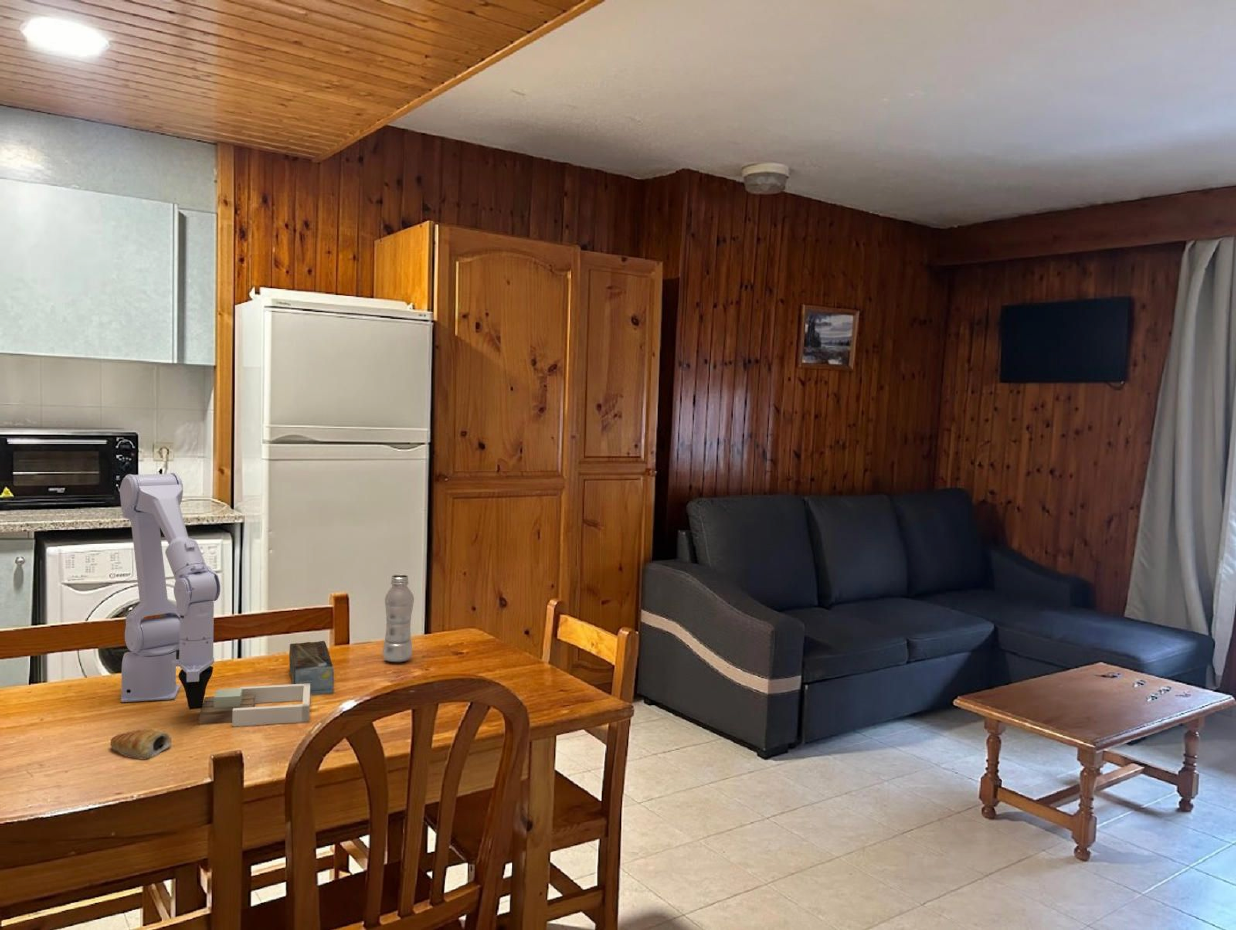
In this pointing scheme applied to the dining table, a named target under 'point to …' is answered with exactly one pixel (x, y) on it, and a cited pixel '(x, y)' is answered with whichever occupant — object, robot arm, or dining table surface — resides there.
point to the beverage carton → (312, 666)
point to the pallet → (222, 710)
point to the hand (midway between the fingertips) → (195, 707)
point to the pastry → (141, 743)
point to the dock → (274, 712)
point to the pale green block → (228, 698)
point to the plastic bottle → (398, 620)
